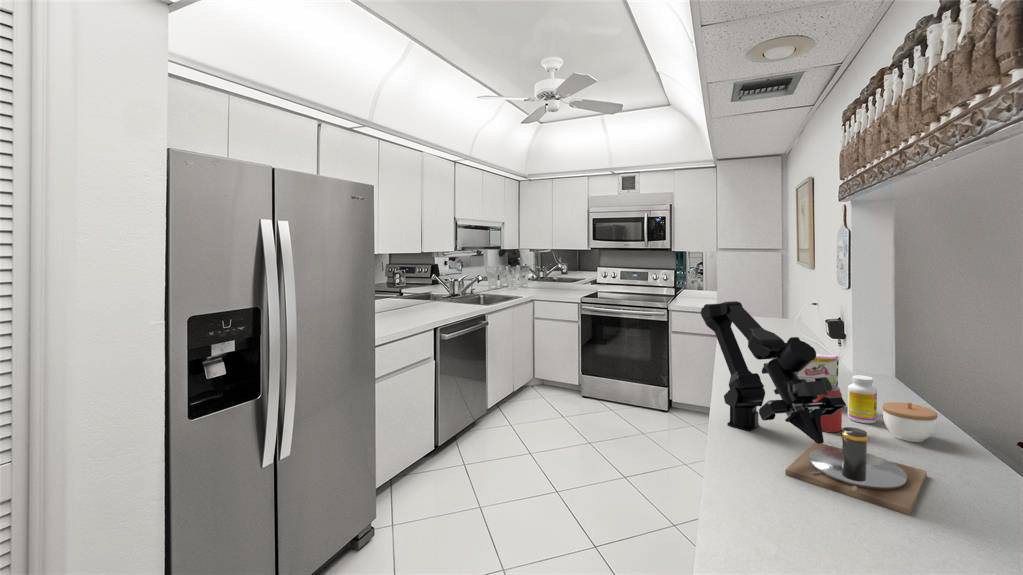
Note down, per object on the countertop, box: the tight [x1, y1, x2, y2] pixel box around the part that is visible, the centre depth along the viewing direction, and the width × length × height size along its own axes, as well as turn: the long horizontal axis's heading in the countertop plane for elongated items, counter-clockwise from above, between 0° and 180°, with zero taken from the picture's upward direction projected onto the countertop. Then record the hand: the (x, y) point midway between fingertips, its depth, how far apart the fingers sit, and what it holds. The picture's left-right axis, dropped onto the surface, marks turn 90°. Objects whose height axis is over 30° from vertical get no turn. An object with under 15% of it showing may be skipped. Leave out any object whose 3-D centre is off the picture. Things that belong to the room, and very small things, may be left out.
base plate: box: [785, 441, 928, 516], centre depth 96 cm, size 21×21×2 cm
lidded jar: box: [882, 401, 938, 443], centre depth 114 cm, size 11×11×9 cm
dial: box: [809, 426, 907, 491], centre depth 96 cm, size 17×17×11 cm
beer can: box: [813, 385, 843, 433], centre depth 121 cm, size 7×7×12 cm
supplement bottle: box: [847, 374, 878, 424], centre depth 126 cm, size 7×7×13 cm
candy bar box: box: [796, 353, 840, 387], centre depth 140 cm, size 11×5×16 cm, turn 58°
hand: (821, 443), depth 97 cm, fingers closed
